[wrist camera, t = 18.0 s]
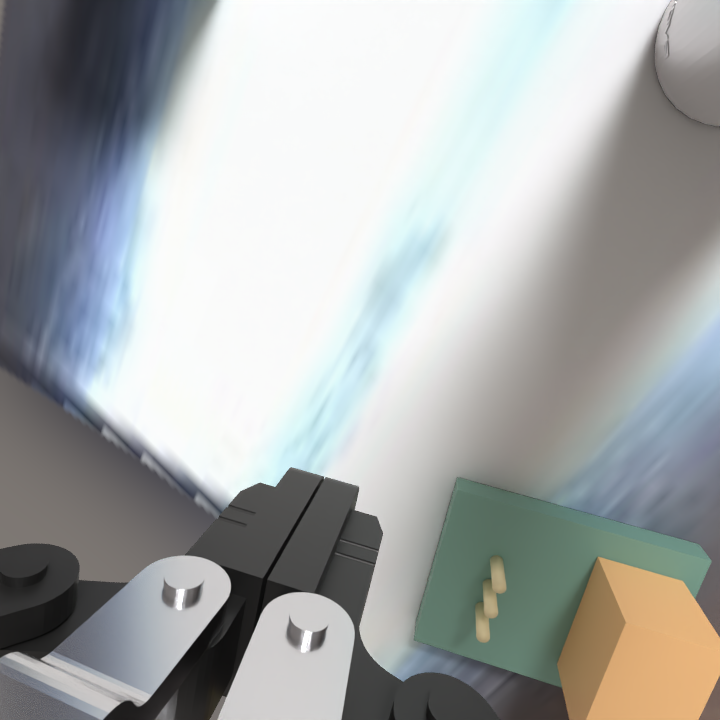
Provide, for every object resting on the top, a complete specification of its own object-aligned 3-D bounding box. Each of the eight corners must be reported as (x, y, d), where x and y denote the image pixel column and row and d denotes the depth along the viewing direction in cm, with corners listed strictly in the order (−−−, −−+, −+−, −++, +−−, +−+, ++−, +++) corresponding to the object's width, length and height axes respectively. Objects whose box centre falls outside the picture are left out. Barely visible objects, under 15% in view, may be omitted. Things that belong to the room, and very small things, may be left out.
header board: (698, 544, 37) (734, 589, 32) (635, 691, 40) (658, 752, 35) (457, 477, 39) (456, 510, 34) (415, 621, 42) (410, 670, 38)
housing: (683, 581, 36) (729, 653, 29) (636, 689, 38) (670, 777, 32) (597, 556, 36) (625, 622, 30) (557, 664, 39) (575, 745, 32)
